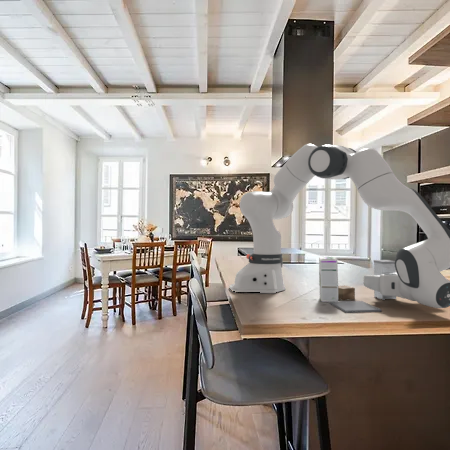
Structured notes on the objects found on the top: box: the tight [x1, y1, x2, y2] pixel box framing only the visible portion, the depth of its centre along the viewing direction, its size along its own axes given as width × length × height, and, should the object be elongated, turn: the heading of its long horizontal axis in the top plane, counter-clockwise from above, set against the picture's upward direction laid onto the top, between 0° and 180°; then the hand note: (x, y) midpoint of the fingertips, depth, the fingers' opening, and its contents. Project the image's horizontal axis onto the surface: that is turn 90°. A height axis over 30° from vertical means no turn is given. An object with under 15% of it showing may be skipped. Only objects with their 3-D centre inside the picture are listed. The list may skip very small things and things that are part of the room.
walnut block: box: [338, 284, 356, 301], centre depth 114 cm, size 5×5×4 cm
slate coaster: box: [329, 300, 382, 314], centre depth 100 cm, size 11×11×1 cm
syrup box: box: [318, 256, 339, 303], centre depth 110 cm, size 6×6×14 cm
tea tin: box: [373, 259, 397, 301], centre depth 113 cm, size 5×5×13 cm
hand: (382, 277), depth 114 cm, fingers open, 7 cm apart
